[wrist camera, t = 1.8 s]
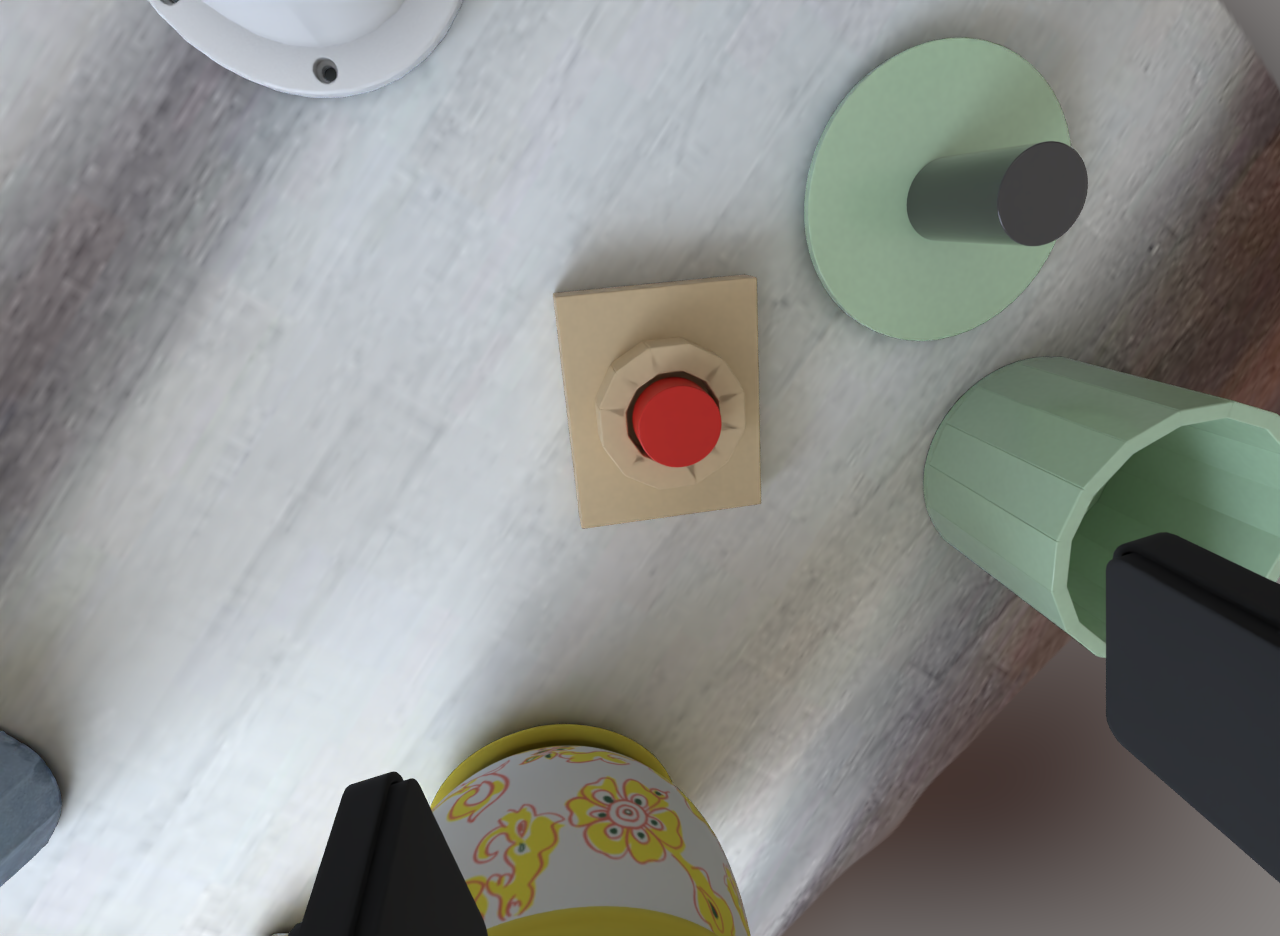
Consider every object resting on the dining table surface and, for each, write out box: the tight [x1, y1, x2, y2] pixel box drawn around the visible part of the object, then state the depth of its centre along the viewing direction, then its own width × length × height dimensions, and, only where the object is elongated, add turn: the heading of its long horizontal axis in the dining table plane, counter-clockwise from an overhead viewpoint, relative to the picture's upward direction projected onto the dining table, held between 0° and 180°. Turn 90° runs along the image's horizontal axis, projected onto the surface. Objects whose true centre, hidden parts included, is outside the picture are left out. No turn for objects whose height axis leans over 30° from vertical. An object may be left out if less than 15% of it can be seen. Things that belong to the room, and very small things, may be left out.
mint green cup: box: [923, 357, 1280, 658], centre depth 34 cm, size 12×12×10 cm
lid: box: [804, 37, 1088, 341], centre depth 29 cm, size 13×13×8 cm
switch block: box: [553, 274, 761, 529], centre depth 32 cm, size 11×9×4 cm
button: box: [632, 377, 722, 467], centre depth 30 cm, size 4×4×2 cm
